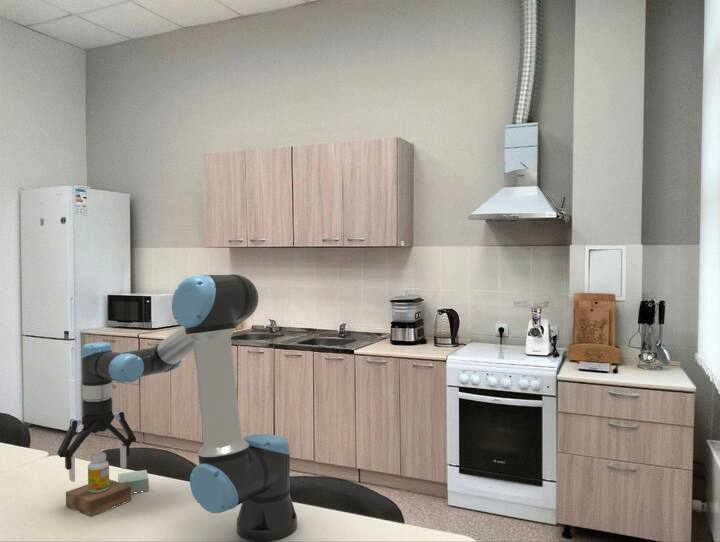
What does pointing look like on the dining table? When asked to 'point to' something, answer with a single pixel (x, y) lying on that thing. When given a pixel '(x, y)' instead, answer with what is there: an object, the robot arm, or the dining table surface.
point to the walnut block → (97, 498)
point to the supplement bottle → (98, 473)
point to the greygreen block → (135, 480)
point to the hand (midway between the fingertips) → (98, 474)
